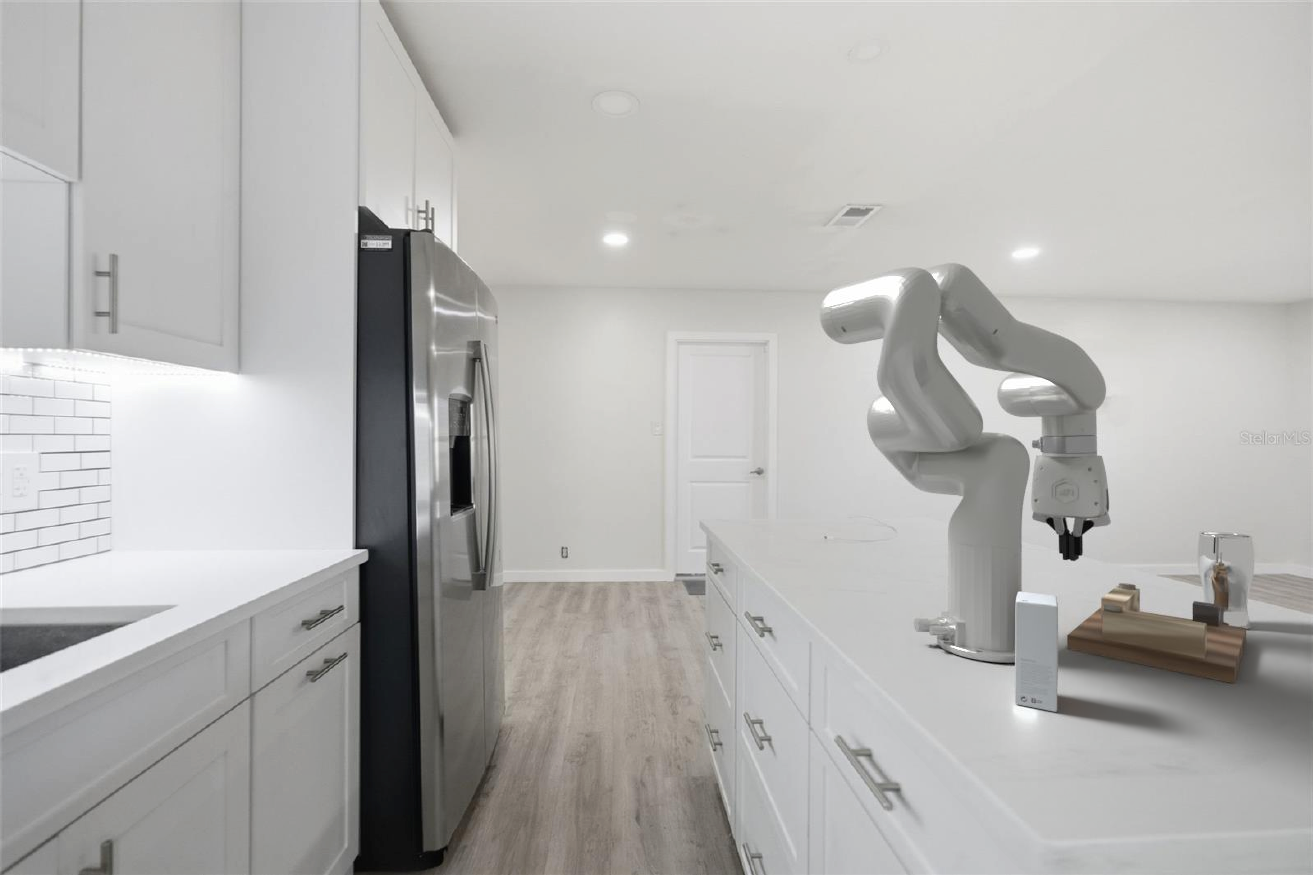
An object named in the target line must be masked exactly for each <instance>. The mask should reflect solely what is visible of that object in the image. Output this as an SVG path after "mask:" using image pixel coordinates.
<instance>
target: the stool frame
mask: <svg viewBox="0 0 1313 875" xmlns="http://www.w3.org/2000/svg"><path fill="white" fill-rule="evenodd" d="M1066 642H1067V643H1066V646H1067V647H1066V649H1067V650H1072V651H1077V652H1080V653H1086V654H1092V655H1096V656H1100V657H1106V658H1111V659H1115V660H1118V661H1125V662H1130V663H1133V664H1139V665H1144V666H1150V667H1155V668H1157V669H1158V668H1159V669H1163V670H1168V671H1174V672H1177V673H1178V672H1179V673H1183V674H1188V675H1193V676H1198V677H1202V678H1208V679H1212V680H1216V681H1221V682H1226V683H1230V684H1236V680H1237V676H1238V672H1239V668H1240V667H1241V666H1240V665H1241V661H1242V657H1243V654H1244V650H1245V646H1246V643H1247V630H1246V628H1242V627H1236V626H1230V625H1223V624H1220V605H1218V604H1211V603H1204V602H1203V601H1202V602H1201V601H1197V600H1194V601H1193V602H1192V619H1191V618H1185V617H1178V616H1171V615H1166V614H1160V613H1159V614H1158V613H1153V612H1147V611H1142V610H1141V611H1140V613H1138V612H1132V611H1126V610H1123V607H1120V606H1116V605H1104V610H1103V611H1102V624H1101V607H1099V608H1098V609H1097V610H1096V611H1095V612H1093V613H1092V614H1091V615H1089V616H1088V617H1087V618H1086V619H1085V620H1084V621H1083V622H1081V623H1080V624H1079V625H1077V626H1076V627H1075V628H1074V629H1072V631H1070V632H1069V633H1068V634H1067V635H1066Z"/></svg>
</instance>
